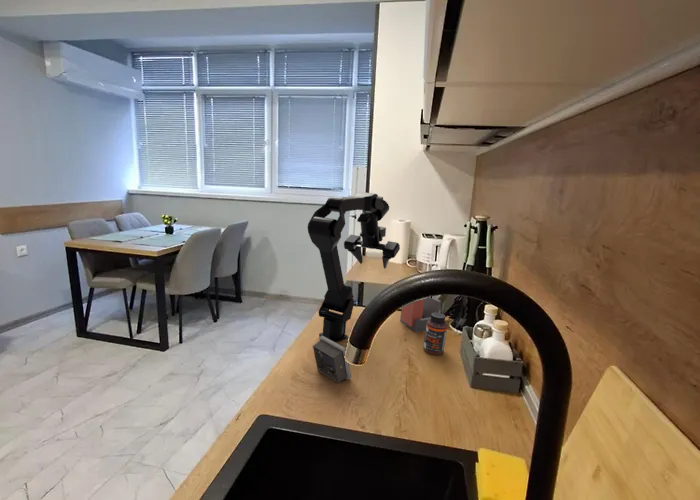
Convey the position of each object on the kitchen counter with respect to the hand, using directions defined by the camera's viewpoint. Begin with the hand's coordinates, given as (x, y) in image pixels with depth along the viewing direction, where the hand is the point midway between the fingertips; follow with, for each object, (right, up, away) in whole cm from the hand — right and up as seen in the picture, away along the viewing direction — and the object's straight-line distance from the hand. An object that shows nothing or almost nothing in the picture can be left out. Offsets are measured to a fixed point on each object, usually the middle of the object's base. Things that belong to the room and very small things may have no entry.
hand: (373, 265), depth 135 cm
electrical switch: (-13, -26, -40) cm, 49 cm away
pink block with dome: (+12, -19, -6) cm, 24 cm away
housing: (+15, -20, -5) cm, 26 cm away
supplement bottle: (+16, -24, -23) cm, 37 cm away
